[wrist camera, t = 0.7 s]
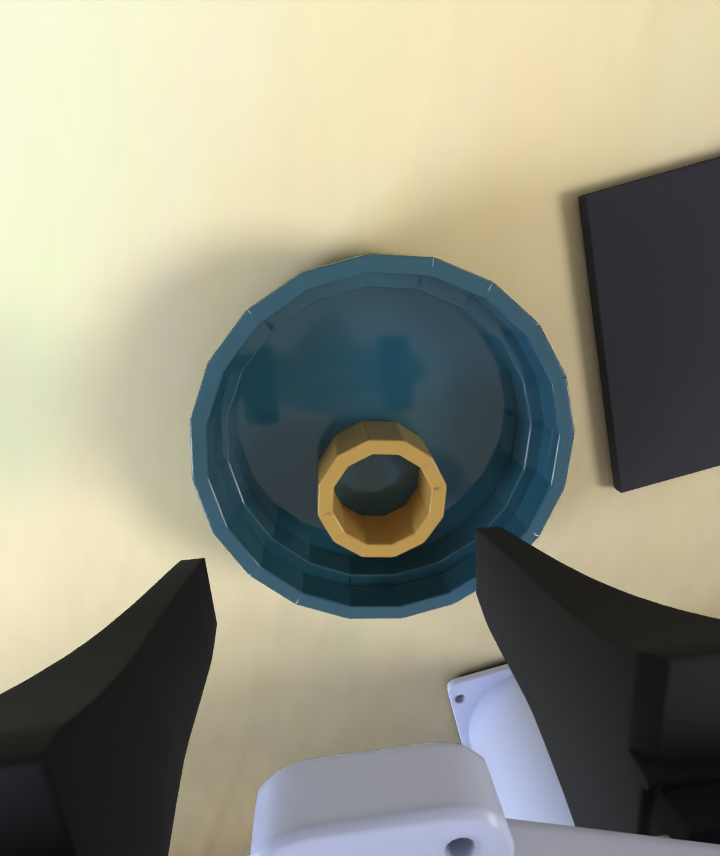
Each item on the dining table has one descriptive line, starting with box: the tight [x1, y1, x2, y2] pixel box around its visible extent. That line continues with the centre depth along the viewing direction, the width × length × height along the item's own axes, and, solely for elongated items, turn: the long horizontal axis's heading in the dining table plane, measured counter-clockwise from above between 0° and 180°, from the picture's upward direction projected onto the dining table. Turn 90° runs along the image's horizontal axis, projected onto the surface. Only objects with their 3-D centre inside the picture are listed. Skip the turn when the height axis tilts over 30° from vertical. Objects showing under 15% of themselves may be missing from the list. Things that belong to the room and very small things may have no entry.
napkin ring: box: [317, 421, 447, 557], centre depth 22 cm, size 5×5×3 cm
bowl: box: [190, 254, 574, 619], centre depth 21 cm, size 14×14×4 cm
